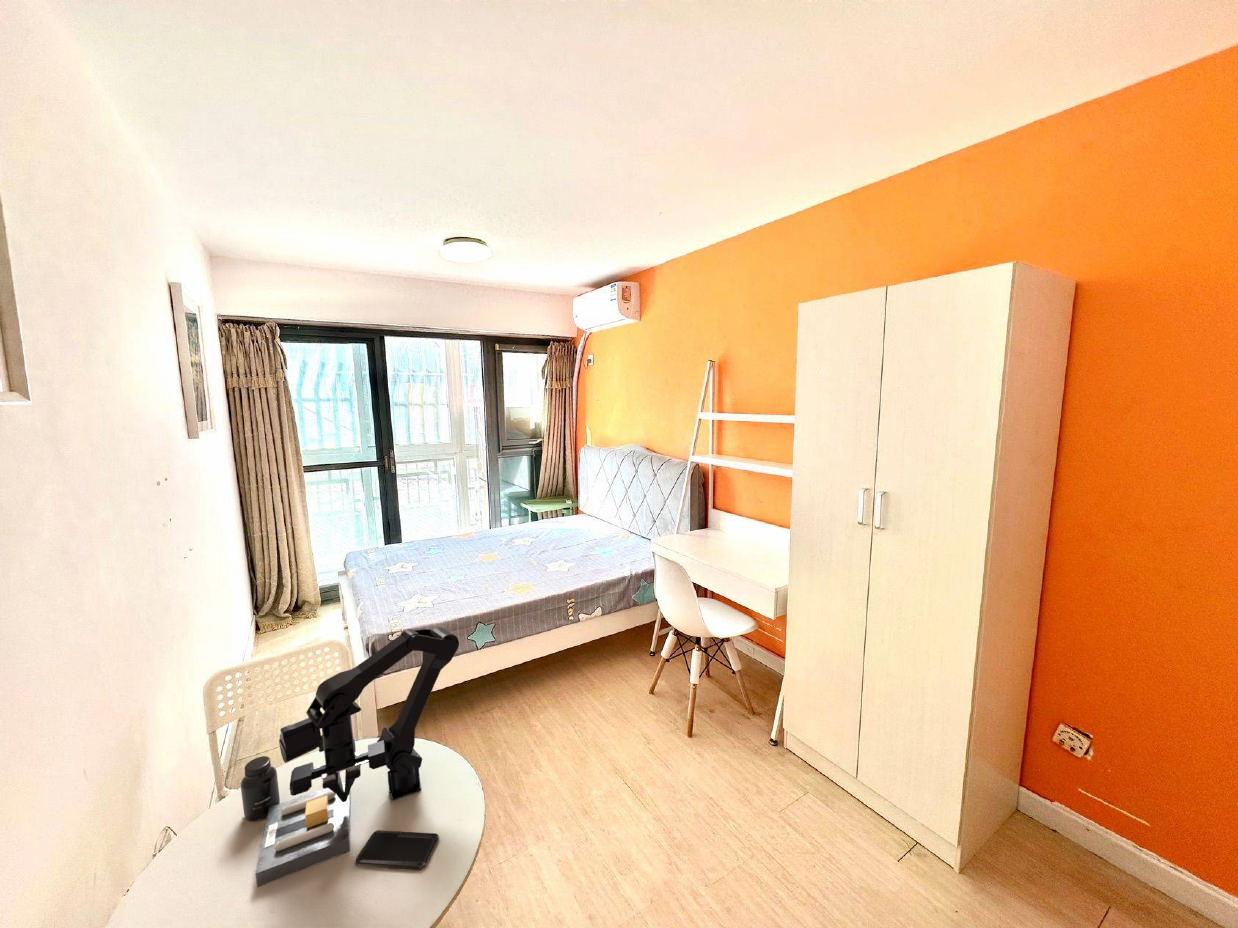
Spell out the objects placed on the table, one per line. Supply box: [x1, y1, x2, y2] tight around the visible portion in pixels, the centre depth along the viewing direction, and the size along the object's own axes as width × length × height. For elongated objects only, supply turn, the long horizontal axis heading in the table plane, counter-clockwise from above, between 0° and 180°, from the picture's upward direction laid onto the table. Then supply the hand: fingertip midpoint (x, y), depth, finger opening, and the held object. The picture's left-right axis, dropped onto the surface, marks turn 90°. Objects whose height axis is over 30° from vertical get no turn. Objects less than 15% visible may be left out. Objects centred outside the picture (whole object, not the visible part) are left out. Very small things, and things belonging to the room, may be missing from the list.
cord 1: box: [275, 823, 334, 851], centre depth 104 cm, size 11×2×2 cm, turn 118°
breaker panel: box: [255, 781, 352, 888], centre depth 109 cm, size 16×18×3 cm
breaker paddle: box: [305, 795, 329, 828], centre depth 109 cm, size 4×4×3 cm
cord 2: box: [281, 791, 336, 815], centre depth 113 cm, size 11×2×2 cm, turn 118°
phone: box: [354, 829, 440, 871], centre depth 104 cm, size 8×1×15 cm
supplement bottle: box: [240, 755, 281, 822], centre depth 115 cm, size 7×7×12 cm
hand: (344, 800), depth 111 cm, fingers closed
